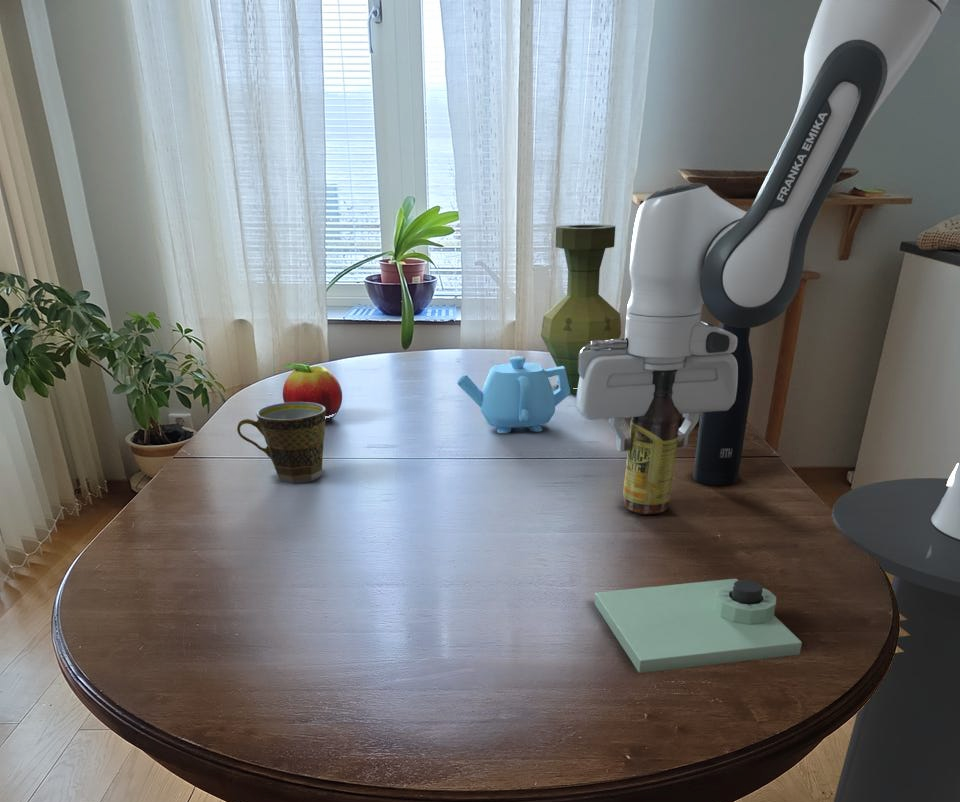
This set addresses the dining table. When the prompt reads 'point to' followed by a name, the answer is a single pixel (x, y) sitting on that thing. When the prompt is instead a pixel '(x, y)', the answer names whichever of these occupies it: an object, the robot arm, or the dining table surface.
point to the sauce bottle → (653, 450)
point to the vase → (580, 299)
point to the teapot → (518, 394)
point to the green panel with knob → (694, 626)
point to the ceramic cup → (292, 439)
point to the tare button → (747, 592)
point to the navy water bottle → (726, 424)
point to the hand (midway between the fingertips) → (651, 448)
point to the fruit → (313, 387)
